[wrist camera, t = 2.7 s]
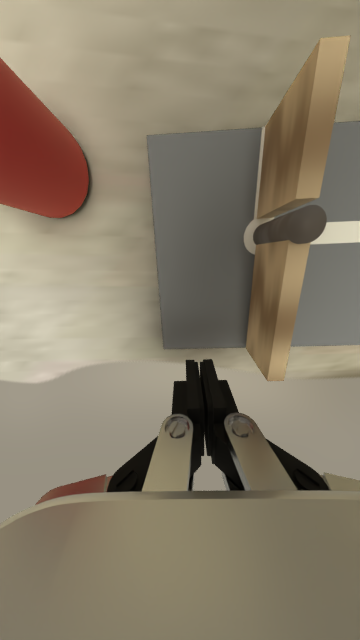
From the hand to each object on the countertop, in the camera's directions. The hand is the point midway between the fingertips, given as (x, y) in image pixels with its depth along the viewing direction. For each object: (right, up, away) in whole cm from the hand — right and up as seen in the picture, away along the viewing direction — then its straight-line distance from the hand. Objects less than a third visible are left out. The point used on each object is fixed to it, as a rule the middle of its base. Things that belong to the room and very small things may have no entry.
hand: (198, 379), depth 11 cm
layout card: (+8, +10, +5) cm, 13 cm away
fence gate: (+6, +6, +5) cm, 10 cm away
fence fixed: (+5, +15, +2) cm, 16 cm away
